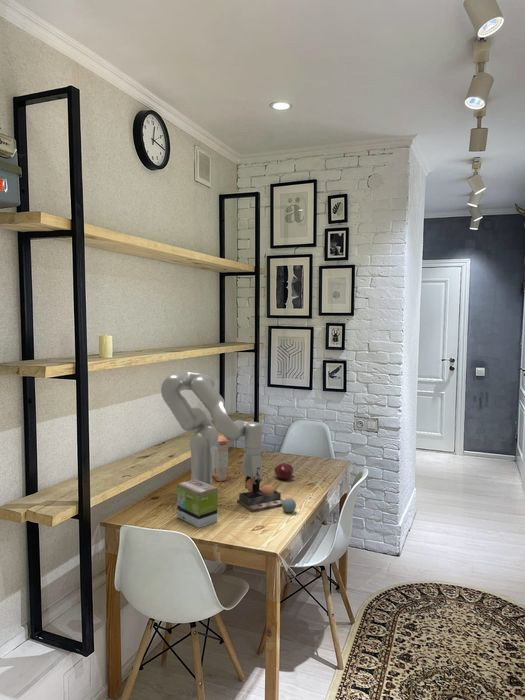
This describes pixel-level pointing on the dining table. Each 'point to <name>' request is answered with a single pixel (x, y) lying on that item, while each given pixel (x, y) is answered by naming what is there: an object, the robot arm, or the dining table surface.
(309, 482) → the dining table surface
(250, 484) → the terracotta ball
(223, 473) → the cracker box
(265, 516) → the dining table surface
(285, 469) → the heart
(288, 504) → the slate ball
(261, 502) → the grey divided tray
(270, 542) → the dining table surface
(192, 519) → the tea box
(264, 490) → the seated terracotta ball
